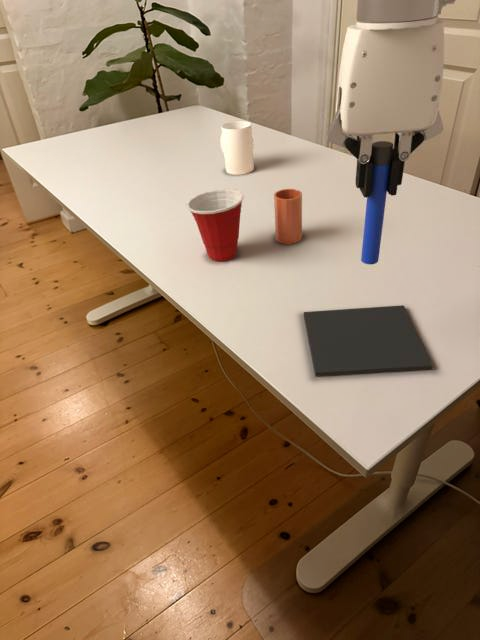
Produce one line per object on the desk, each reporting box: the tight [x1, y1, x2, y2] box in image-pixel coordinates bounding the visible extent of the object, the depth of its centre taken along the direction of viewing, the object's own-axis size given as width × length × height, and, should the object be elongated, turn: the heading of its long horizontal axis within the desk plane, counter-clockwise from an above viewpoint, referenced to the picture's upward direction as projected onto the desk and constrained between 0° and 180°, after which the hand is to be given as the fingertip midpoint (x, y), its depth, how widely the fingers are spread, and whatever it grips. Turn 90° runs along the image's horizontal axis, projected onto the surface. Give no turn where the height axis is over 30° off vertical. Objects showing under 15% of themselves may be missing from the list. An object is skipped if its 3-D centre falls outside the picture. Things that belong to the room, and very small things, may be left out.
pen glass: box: [273, 188, 303, 245], centre depth 94 cm, size 5×5×10 cm
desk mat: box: [303, 305, 434, 377], centre depth 69 cm, size 16×14×1 cm
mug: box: [219, 120, 255, 176], centre depth 128 cm, size 8×12×12 cm
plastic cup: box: [186, 188, 245, 262], centre depth 89 cm, size 11×11×12 cm
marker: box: [360, 140, 393, 265], centre depth 56 cm, size 2×2×15 cm
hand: (377, 190), depth 55 cm, fingers closed on marker, 2 cm apart
